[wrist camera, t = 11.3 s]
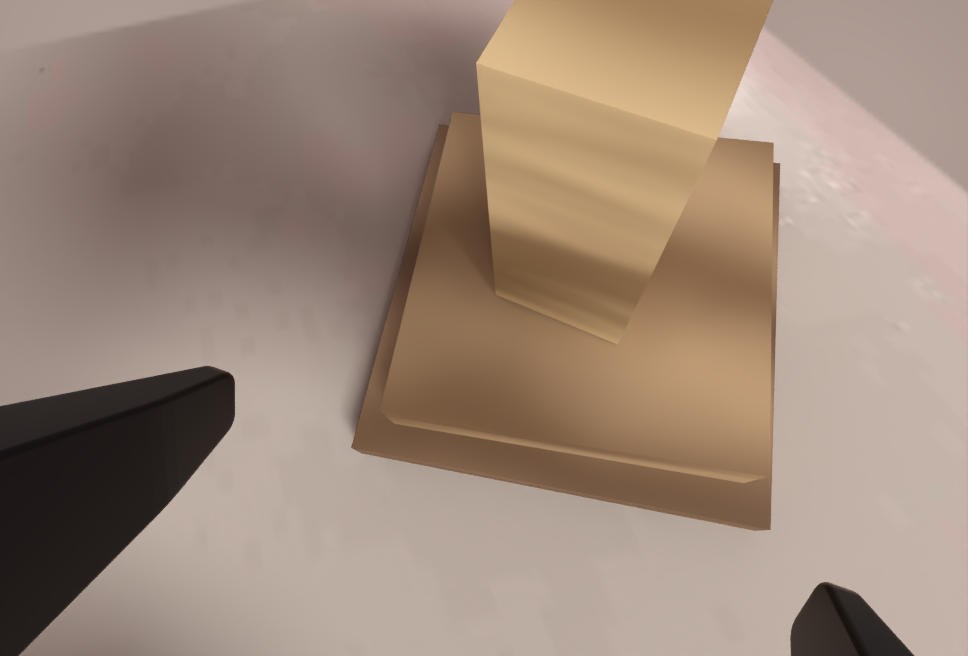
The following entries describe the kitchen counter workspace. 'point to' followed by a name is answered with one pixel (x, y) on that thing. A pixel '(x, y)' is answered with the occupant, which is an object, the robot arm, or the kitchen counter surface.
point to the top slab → (588, 358)
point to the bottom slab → (548, 467)
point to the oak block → (601, 142)
